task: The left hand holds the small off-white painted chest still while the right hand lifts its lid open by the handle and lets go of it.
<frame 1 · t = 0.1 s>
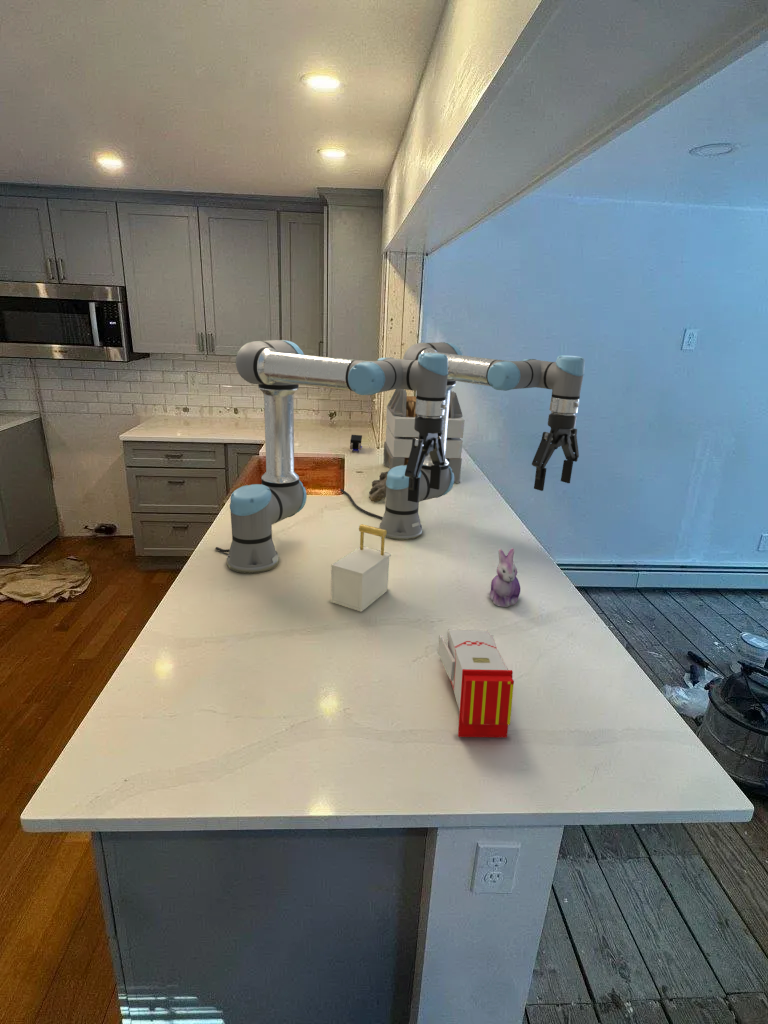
left hand: (424, 494, 152), 28 cm above the counter, tool pointing down, fingers open, 13 cm apart
right hand: (552, 485, 166), 28 cm above the counter, tool pointing down, fingers open, 13 cm apart
white wooden crate: (419, 473, 275), on the counter
toy: (469, 691, 119), on the counter
figurine: (504, 600, 157), on the counter
figurine character: (355, 450, 313), on the counter
chest: (359, 596, 156), on the counter
lid: (362, 547, 151), point 14 cm above the counter, hinge at 0.0°
fossil: (383, 495, 240), on the counter
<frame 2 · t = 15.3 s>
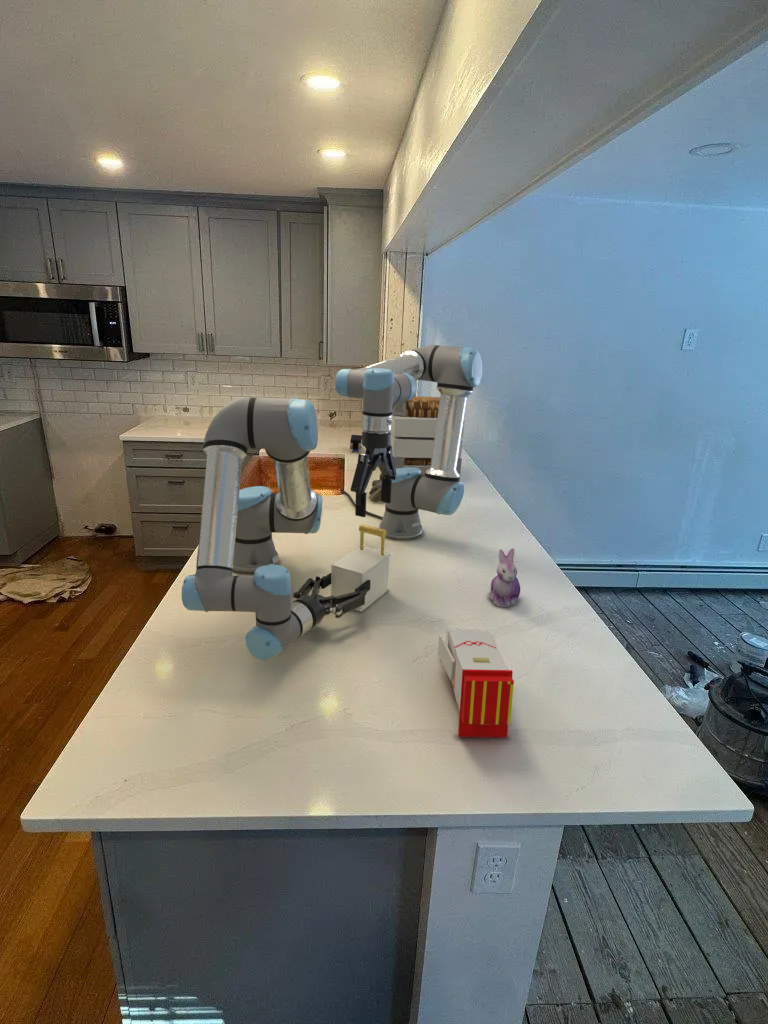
left hand: (352, 579, 150), 7 cm above the counter, tool horizontal, fingers closed on chest, 10 cm apart
right hand: (373, 509, 153), 24 cm above the counter, tool pointing down, fingers open, 13 cm apart
chest: (359, 596, 156), on the counter, touching left hand
everything else where it was.
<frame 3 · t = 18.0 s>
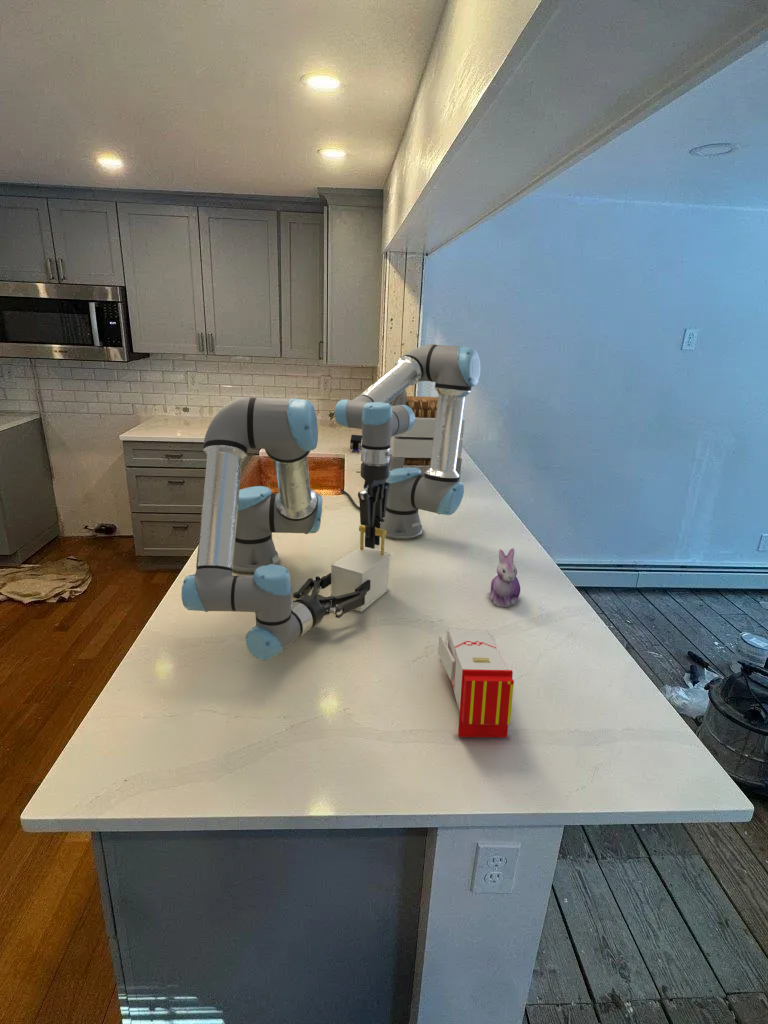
left hand: (352, 579, 150), 7 cm above the counter, tool horizontal, fingers closed on chest, 10 cm apart
right hand: (372, 545, 156), 13 cm above the counter, tool pointing down, fingers closed on lid, 2 cm apart
chest: (359, 596, 156), on the counter, touching left hand
lid: (362, 547, 151), point 14 cm above the counter, hinge at 0.0°, touching right hand
everything else where it was.
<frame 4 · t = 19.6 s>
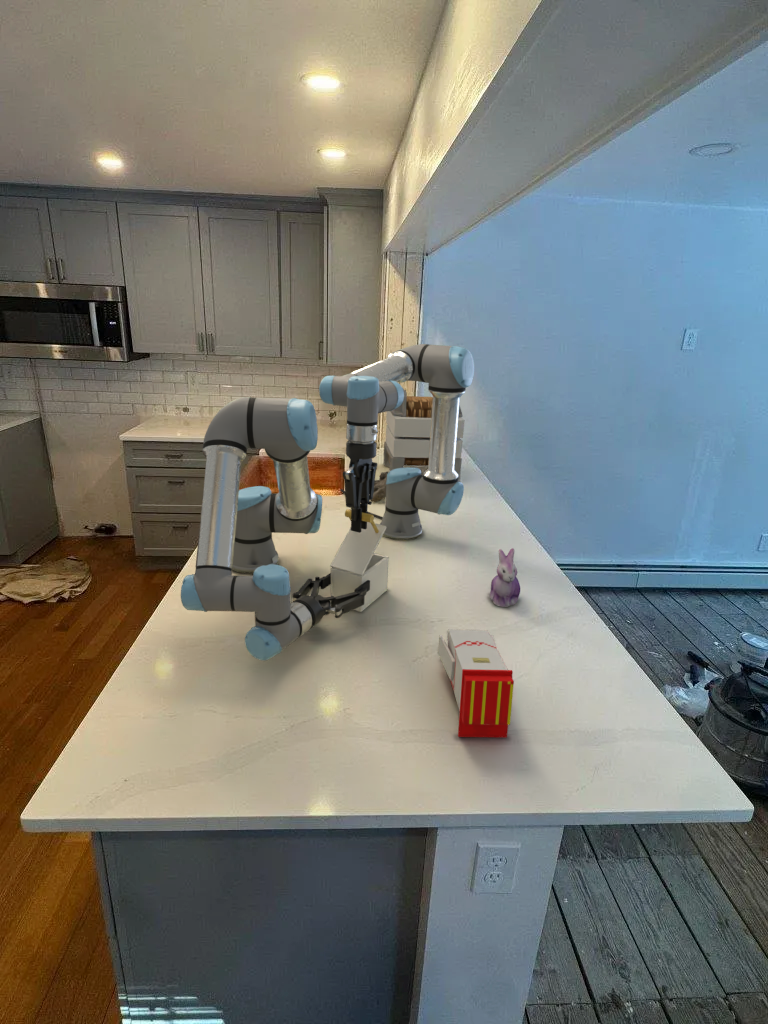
left hand: (351, 579, 150), 7 cm above the counter, tool horizontal, fingers closed on chest, 10 cm apart
right hand: (358, 529, 148), 20 cm above the counter, tool pointing down, fingers closed on lid, 2 cm apart
chest: (359, 595, 156), on the counter, touching left hand
lid: (354, 539, 146), point 18 cm above the counter, hinge at 37.5°, touching right hand
everything else where it was.
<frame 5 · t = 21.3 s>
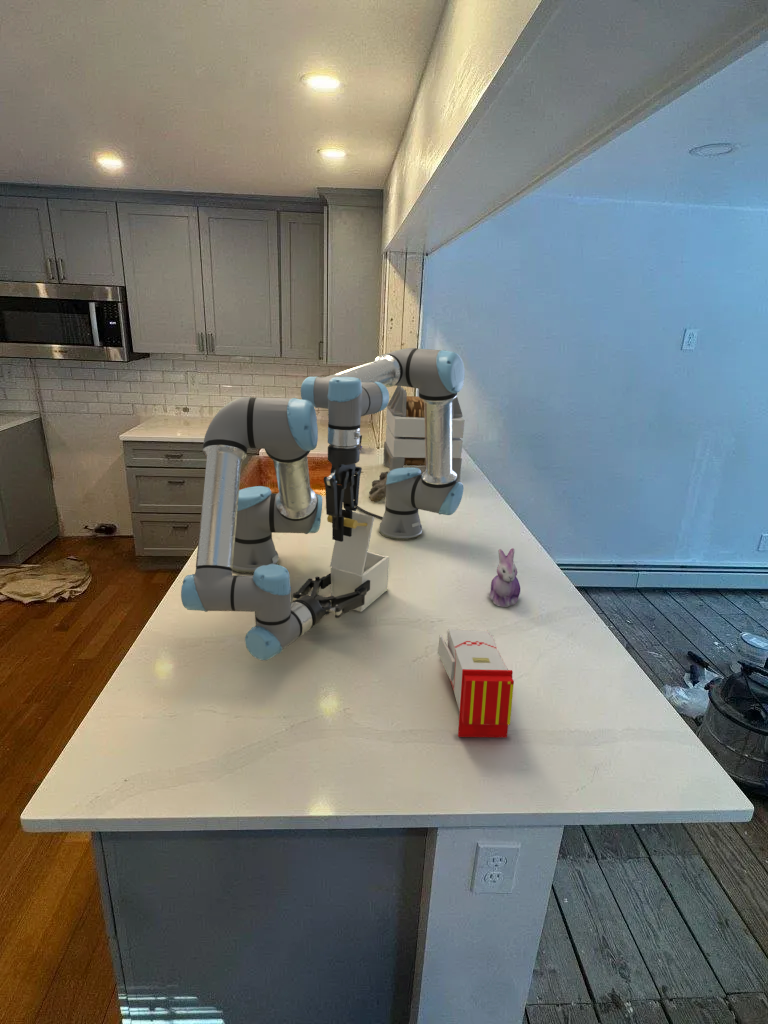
left hand: (352, 579, 150), 7 cm above the counter, tool horizontal, fingers closed on chest, 10 cm apart
right hand: (342, 537, 141), 21 cm above the counter, tool pointing down, fingers open, 3 cm apart
chest: (359, 595, 156), on the counter, touching left hand
lid: (344, 542, 142), point 19 cm above the counter, hinge at 70.2°
everything else where it was.
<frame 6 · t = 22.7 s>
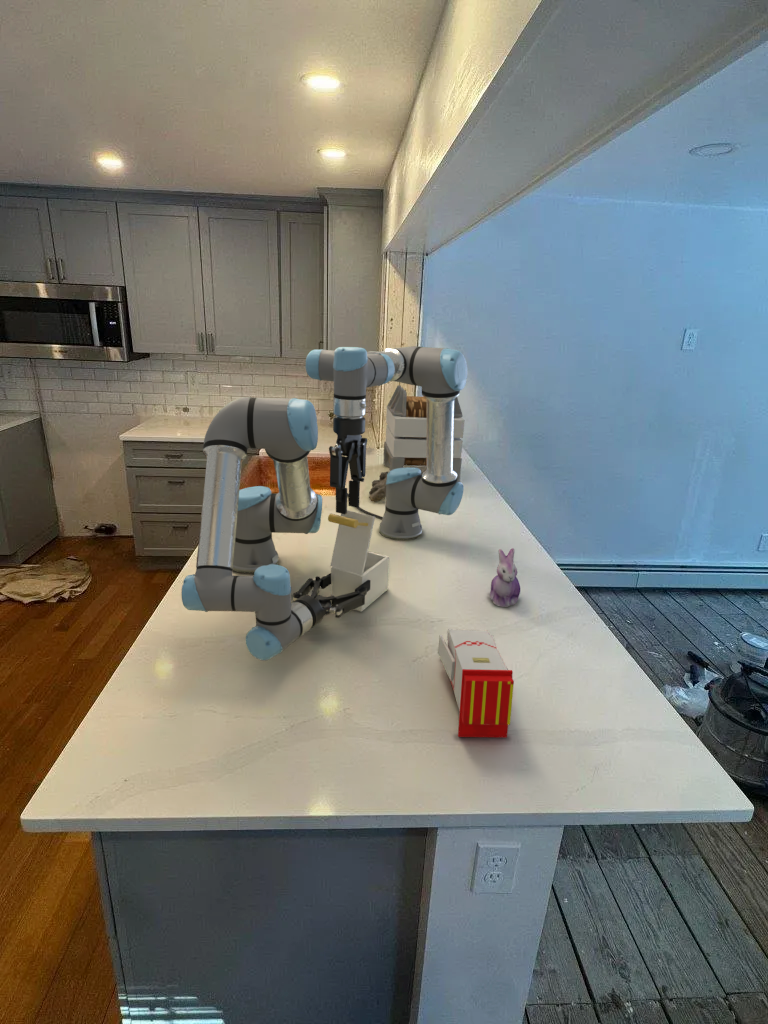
left hand: (352, 579, 150), 7 cm above the counter, tool horizontal, fingers closed on chest, 10 cm apart
right hand: (347, 509, 140), 27 cm above the counter, tool pointing down, fingers open, 5 cm apart
chest: (360, 595, 156), on the counter, touching left hand
lid: (345, 541, 142), point 19 cm above the counter, hinge at 69.2°
everything else where it was.
when the left hand's fingers open (7 cm above the counter, at t = 25.6 s): chest stays where it is, on the counter.
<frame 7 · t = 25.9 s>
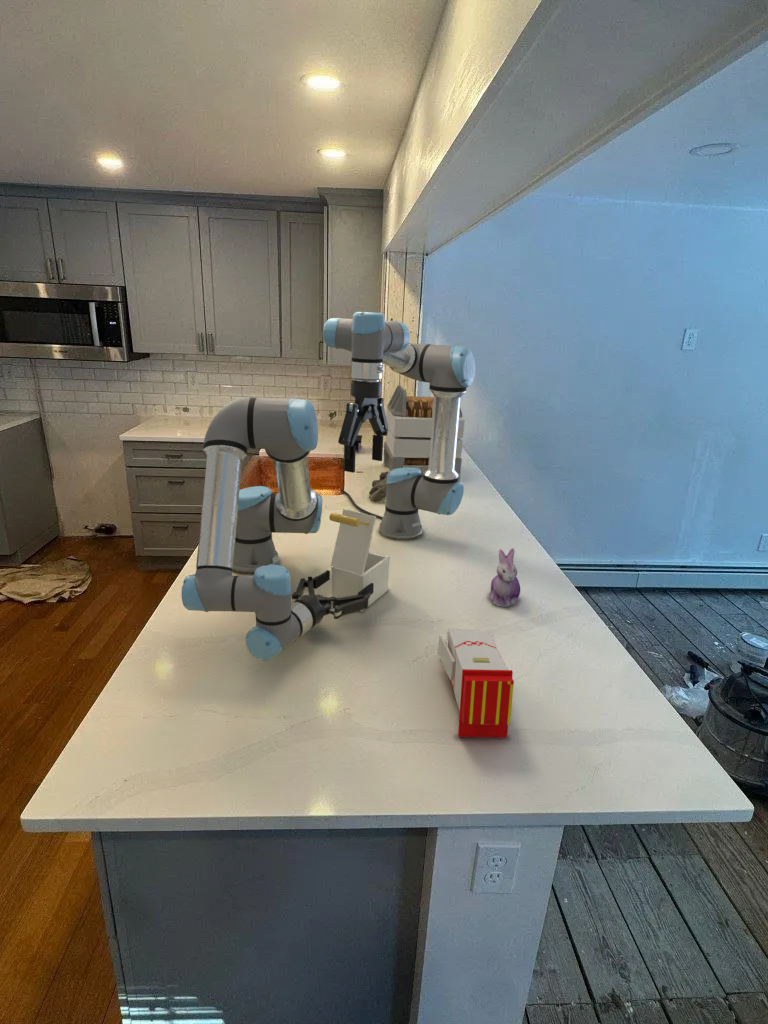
left hand: (350, 581, 149), 7 cm above the counter, tool horizontal, fingers open, 13 cm apart
right hand: (363, 465, 143), 37 cm above the counter, tool pointing down, fingers open, 13 cm apart
chest: (360, 595, 156), on the counter
lid: (346, 540, 143), point 19 cm above the counter, hinge at 68.7°
everything else where it was.
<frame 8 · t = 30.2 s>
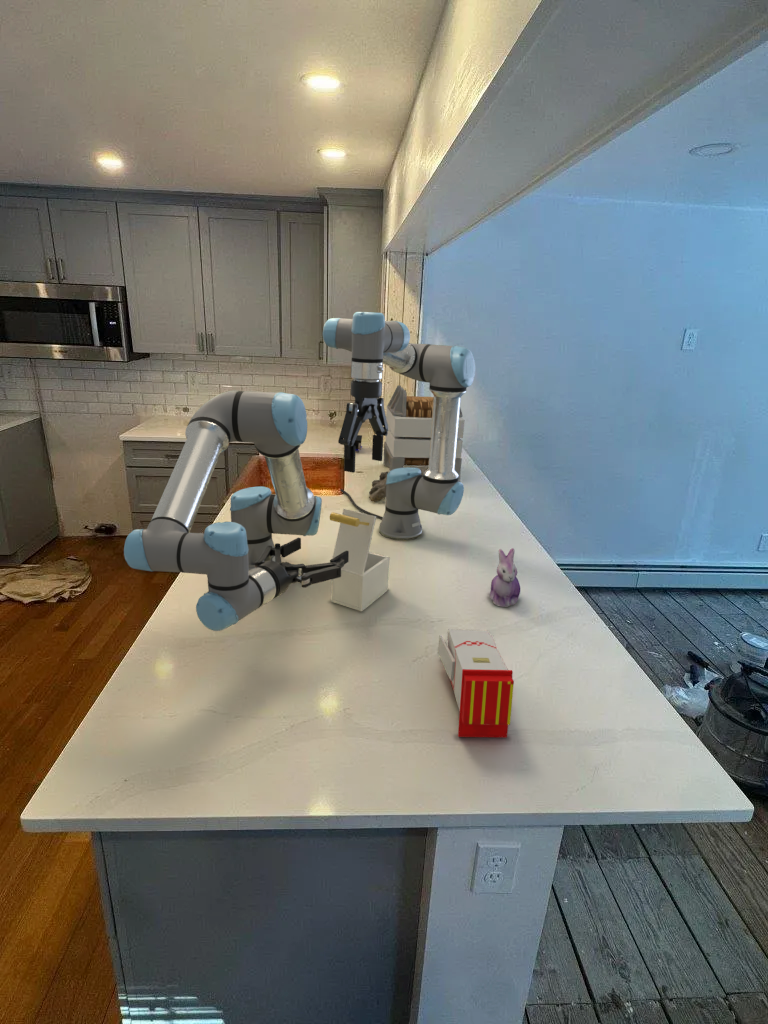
left hand: (323, 549, 134), 20 cm above the counter, tool horizontal, fingers open, 13 cm apart
right hand: (363, 465, 143), 37 cm above the counter, tool pointing down, fingers open, 13 cm apart
nothing on the counter moved.
at the end: lid at +69° (first picture: +0°); the left hand is holding nothing; the right hand is holding nothing; chest tilted 0°; chest never tilted more than 2° during the clip; chest moved 0.2 cm from its start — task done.
